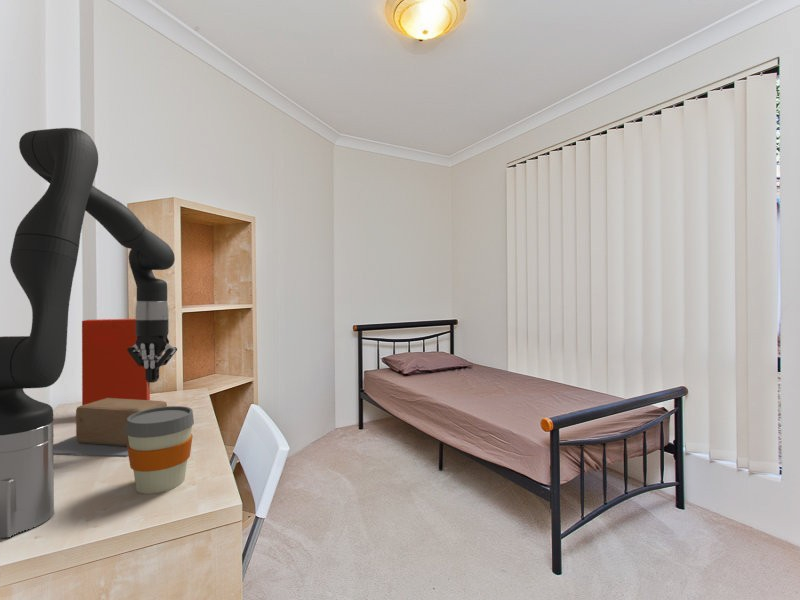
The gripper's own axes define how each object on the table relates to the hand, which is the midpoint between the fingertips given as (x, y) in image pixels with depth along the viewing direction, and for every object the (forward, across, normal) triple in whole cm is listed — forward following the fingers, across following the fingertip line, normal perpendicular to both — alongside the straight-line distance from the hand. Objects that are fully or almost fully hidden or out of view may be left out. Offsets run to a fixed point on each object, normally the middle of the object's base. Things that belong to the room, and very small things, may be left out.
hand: (152, 381), depth 105 cm
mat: (+17, -13, 0) cm, 21 cm away
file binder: (+17, -29, +24) cm, 41 cm away
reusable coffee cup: (+17, +16, -20) cm, 31 cm away
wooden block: (+12, 0, +1) cm, 12 cm away
